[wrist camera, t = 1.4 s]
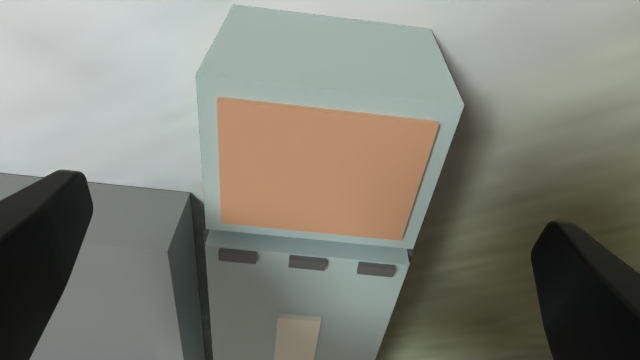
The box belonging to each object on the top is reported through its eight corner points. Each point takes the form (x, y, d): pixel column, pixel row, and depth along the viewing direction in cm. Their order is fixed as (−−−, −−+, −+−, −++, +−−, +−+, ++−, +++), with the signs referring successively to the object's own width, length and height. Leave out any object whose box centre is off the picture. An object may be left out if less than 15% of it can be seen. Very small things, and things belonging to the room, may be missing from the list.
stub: (395, 153, 14) (414, 253, 11) (235, 135, 14) (204, 233, 11) (429, 27, 12) (466, 109, 8) (233, 2, 11) (193, 77, 8)
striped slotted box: (343, 363, 22) (344, 458, 19) (233, 353, 22) (214, 448, 18) (398, 166, 14) (416, 270, 11) (229, 148, 14) (197, 248, 11)
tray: (206, 372, 23) (193, 427, 21) (-40, 351, 22) (-78, 405, 20) (189, 192, 15) (167, 250, 13) (-185, 154, 15) (-269, 209, 13)
